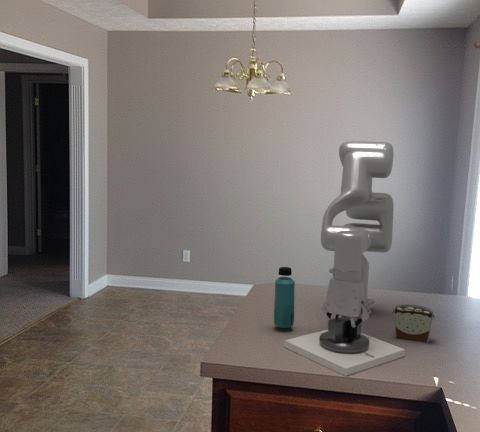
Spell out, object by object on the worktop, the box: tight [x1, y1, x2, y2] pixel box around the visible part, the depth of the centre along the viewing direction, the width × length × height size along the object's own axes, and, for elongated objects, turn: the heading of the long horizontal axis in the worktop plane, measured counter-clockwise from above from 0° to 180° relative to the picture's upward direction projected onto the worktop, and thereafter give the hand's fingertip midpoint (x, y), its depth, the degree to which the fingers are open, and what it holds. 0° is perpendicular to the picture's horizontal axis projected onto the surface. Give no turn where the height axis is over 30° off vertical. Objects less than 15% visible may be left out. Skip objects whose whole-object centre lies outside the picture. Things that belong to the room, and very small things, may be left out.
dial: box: [319, 316, 369, 354], centre depth 161 cm, size 14×14×8 cm
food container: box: [392, 303, 436, 345], centre depth 173 cm, size 12×6×10 cm, turn 71°
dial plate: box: [283, 328, 406, 377], centre depth 162 cm, size 24×24×2 cm
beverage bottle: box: [273, 266, 296, 329], centre depth 178 cm, size 6×7×20 cm
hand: (343, 336), depth 161 cm, fingers closed on dial, 4 cm apart
